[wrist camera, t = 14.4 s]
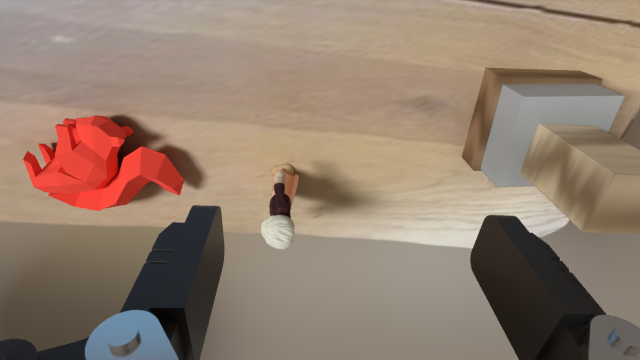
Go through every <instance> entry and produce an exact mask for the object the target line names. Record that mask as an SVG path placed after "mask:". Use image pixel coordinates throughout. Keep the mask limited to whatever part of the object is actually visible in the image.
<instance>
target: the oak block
mask: <svg viewBox="0 0 640 360" xmlns="http://www.w3.org/2000/svg"><path fill="white" fill-rule="evenodd" d="M520 173H521V174H522V175H523V176H524V177H525V178H526V179H527V180H528V181H529V182H530V183H532V184H533V185H534V186H535V187H536V188H537V189H538V190H539V191H540V192H541V193H542V194H543V195H544V196H545V197H546V198H547V199H548V200H550V201H551V202H552V203H553V204H554V205H555V206H556V207H557V208H558V209H559V210H560V211H561V212H562V213H563V214H564V215H565V216H567V217H568V218H569V219H570V220H571V221H572V222H573V223H574V224H575V225H576V226H577V227H578V228H579V229H580V230H581V231H582V232H585V233H586V232H588V233H640V150H639V149H637V148H635V147H633V146H631V145H630V144H627V143H626V142H624V141H622V140H621V139H619V138H617V137H615V136H613V135H612V134H610V133H608V132H606V131H604V130H602V129H601V128H599V127H597V126H587V125H565V124H543V123H539V125H538V127H537V130H536V132H535V135H534V137H533V139H532V142H531V144H530V147H529V149H528V152H527V154H526V157H525V159H524V162H523V164H522V167H521V169H520Z"/></svg>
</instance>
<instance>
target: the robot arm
mask: <svg viewBox="0 0 640 360" xmlns="http://www.w3.org/2000/svg"><path fill="white" fill-rule="evenodd" d="M470 261H471V268H472V271H473V273H474V275H475V277H476V279H477V281H478V283H479V285H480V287H481V288H482V290H483V292H484V294H485V296H486V298H487V300H488V302H489V304H490V306H491V307H492V309H493V311H494V313H495V315H496V317H497V319H498V321H499V323H500V324H501V326H502V328H503V330H504V332H505V334H506V336H507V338H508V340H509V341H510V343H511V345H512V347H513V349H514V351H515V353H516V355H517V357H518V359H519V360H640V328H639V327H637V326H636V325H634V324H632V323H630V322H628V321H626V320H624V319H621V318H619V317H615V316H611V315H606V313H605V312H604V311H603V310H602V309H601V307H600V306H599V305H598V304H597V303H596V301H595V300H594V299H593V298H592V296H591V295H590V294H589V293H588V292H587V290H586V289H585V288H584V287H583V286H582V284H581V283H580V282H579V281H578V280H577V278H576V277H575V276H574V275H573V274H572V273H570V272H569V269H568V268H567V266H565V264H564V263H563V262H562V261H560V258H559V257H558V256H557V255H556V253H555V252H554V251H553V250H552V249H551V248H550V246H549V245H548V244H547V243H545V242H544V241H542V240H541V239H540V238H538V237H537V236H536V235H534V234H533V233H529V231H528V230H527V229H526V228H525V226H524V225H523V224H522V223H521V221H520V220H519V219H518V218H517V217H515V216H503V215H488V216H487V217H486V218H485V219H484V221H483V224H482V226H481V229H480V231H479V234H478V236H477V239H476V242H475V244H474V247H473V249H472V252H471V259H470ZM223 262H224V237H223V226H222V215H221V208H220V206H199V205H193V206H192V208H191V210H190V212H189V214H188V217H187V219H186V221H185V223H176V222H173V223H172V224H170V225H169V226H168V227H167V228H166V229H165V230H164V231H162V232H161V233H160V234H159V236H158V238H157V240H156V242H155V244H154V246H153V248H152V251H151V252H150V254H149V256H148V258H147V260H146V264H144V266H143V268H142V270H141V272H140V274H139V276H138V278H137V280H136V282H135V284H134V286H133V288H132V290H131V292H130V294H129V296H128V298H127V300H126V302H125V304H124V306H123V308H122V309H121V311H120V313H119V314H116V315H114V316H112V317H110V318H108V319H107V320H106V321H104V322H103V323H102V324H100V325H99V326H98V327H97V328H96V329H95V330H94V331H93V333H92V334H91V336H90V337H88V338H86V339H83V340H80V341H77V342H73V343H70V344H66V345H62V346H58V347H55V348H51V349H47V350H43V351H39V352H37V350H36V348H35V347H34V345H33V344H32V343H30V342H28V341H26V340H22V339H9V340H3V341H0V360H199V359H200V356H201V352H202V348H203V344H204V340H205V335H206V332H207V327H208V324H209V320H210V316H211V312H212V307H213V304H214V300H215V296H216V292H217V288H218V284H219V280H220V276H221V272H222V268H223Z"/></svg>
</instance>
